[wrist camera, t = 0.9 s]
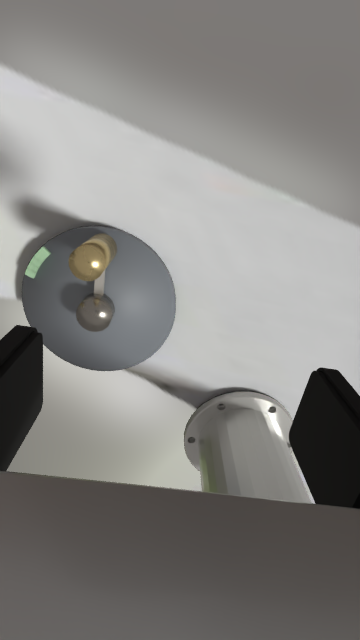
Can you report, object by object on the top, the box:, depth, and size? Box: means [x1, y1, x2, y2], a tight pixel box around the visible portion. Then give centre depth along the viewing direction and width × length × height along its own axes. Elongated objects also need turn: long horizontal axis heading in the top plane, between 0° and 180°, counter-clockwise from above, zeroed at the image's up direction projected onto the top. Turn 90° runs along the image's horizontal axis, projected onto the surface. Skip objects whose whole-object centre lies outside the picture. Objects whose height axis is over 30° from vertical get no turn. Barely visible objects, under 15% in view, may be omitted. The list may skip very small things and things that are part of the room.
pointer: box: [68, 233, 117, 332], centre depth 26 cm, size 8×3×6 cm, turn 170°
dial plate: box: [22, 226, 176, 371], centre depth 31 cm, size 14×14×2 cm
